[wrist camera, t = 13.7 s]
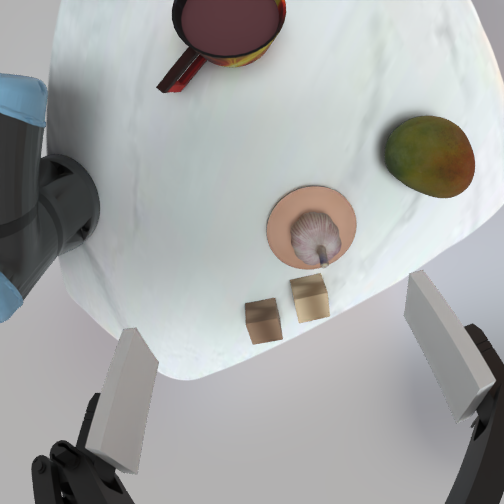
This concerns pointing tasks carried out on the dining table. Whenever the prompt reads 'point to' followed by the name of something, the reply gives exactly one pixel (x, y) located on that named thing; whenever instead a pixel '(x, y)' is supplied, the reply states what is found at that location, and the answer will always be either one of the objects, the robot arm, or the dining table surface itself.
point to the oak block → (310, 298)
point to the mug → (221, 34)
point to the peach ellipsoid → (303, 203)
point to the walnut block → (263, 321)
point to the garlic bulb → (315, 239)
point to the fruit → (431, 156)
